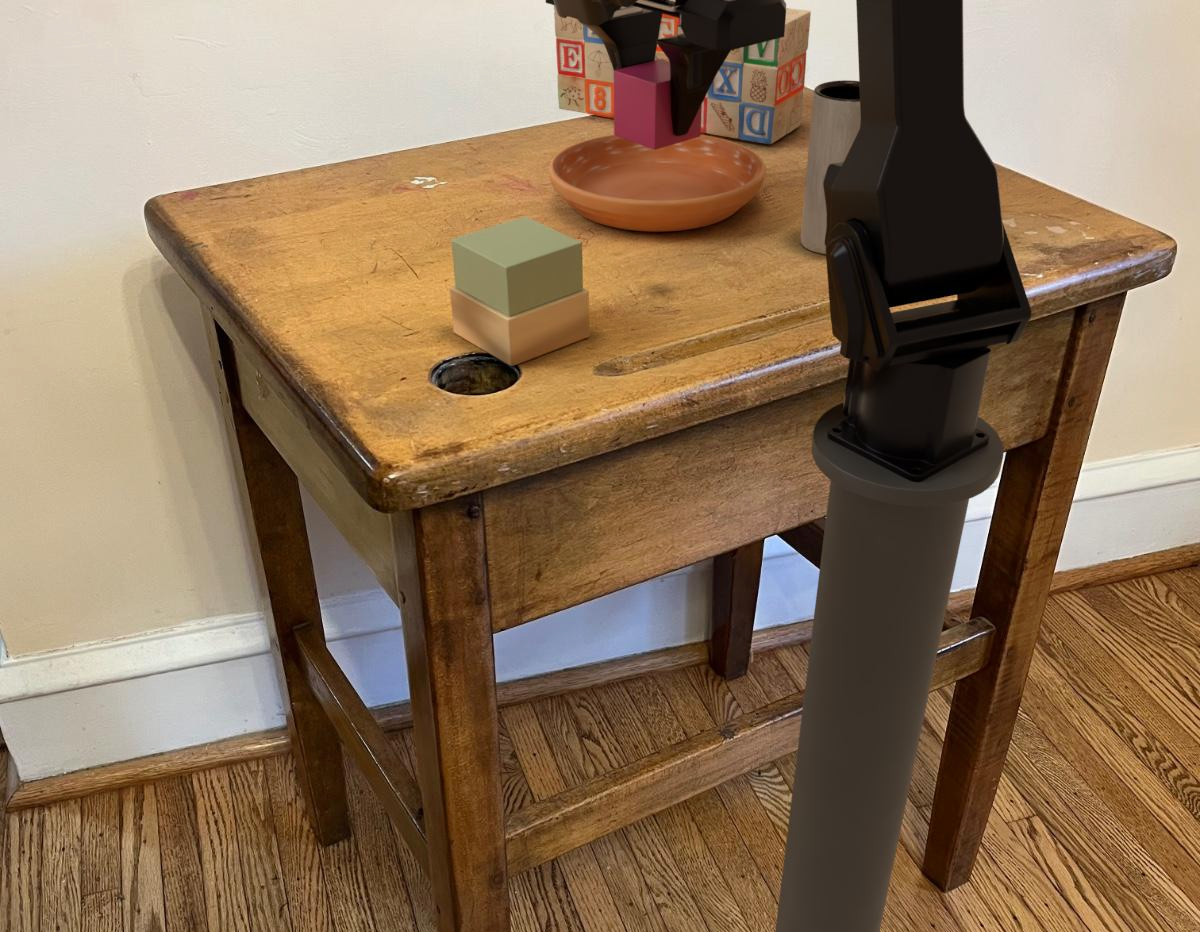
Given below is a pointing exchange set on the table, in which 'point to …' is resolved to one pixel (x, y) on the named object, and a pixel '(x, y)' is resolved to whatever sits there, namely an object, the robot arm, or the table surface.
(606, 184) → the saucer
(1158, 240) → the table surface
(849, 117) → the grey hollow cylinder
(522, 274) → the sage middle block
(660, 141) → the mulberry block
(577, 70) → the stack of blocks
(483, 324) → the beech base block
